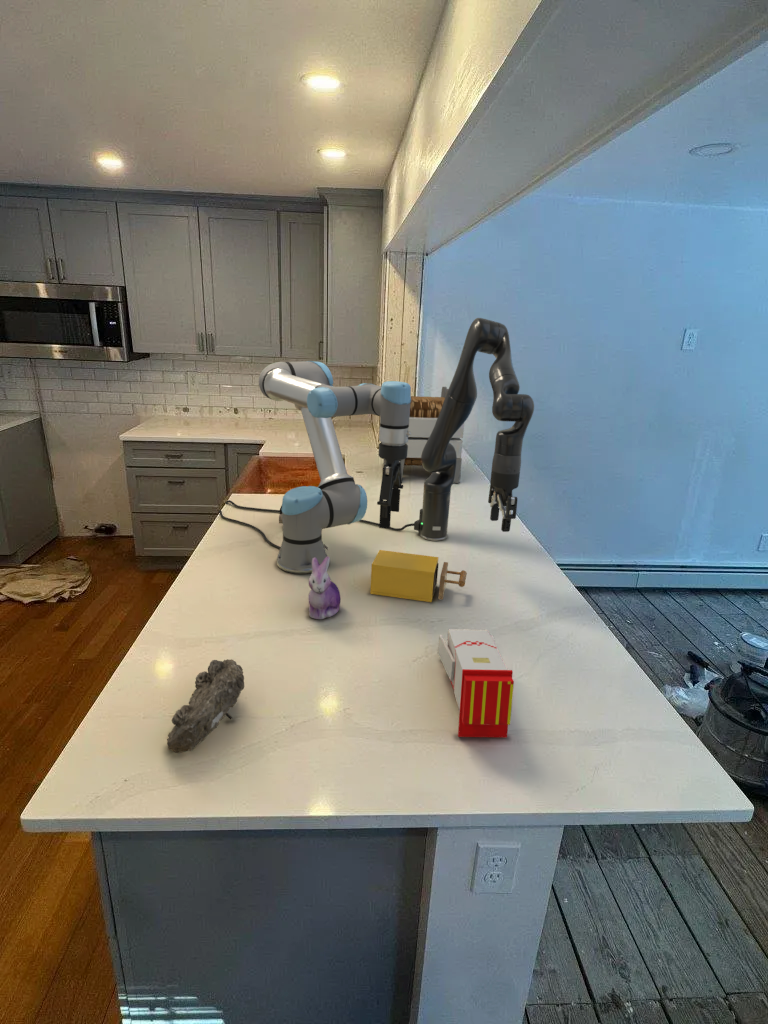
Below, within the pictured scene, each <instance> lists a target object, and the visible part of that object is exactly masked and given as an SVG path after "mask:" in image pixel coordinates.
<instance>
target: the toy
mask: <svg viewBox="0 0 768 1024" xmlns="http://www.w3.org/2000/svg"><path fill="white" fill-rule="evenodd" d="M446 640H447V643H446V641H445V639H444V636H443V635H442V634H439V637H438V646H437V656H438V657H439V659H440V661H441V663H442V666H443V668H444V670H445V672H446V674H447V677H448V679H449V681H450V684H451V687H452V690H453V693H454V697H455V701H456V705H457V708H458V711H459V714H458V715H459V716H458V730H457V731H458V732H457V737H458V738H508V731H509V726H510V725H511V717H512V707H513V697H514V696H513V695H514V684H515V680H514V679H513V673H514V671H513V670H512V669H508V667H507V665H506V662H505V661H504V659H503V658H502V655H501V653H500V651H499V649H498V647H497V643H496V639H495V637H494V635H493V634H491V632H490V631H489V629H467V628H466V629H465V628H463V629H461V628H460V629H459V628H448V630H447V639H446Z"/></svg>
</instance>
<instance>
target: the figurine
mask: <svg viewBox="0 0 768 1024" xmlns="http://www.w3.org/2000/svg"><path fill="white" fill-rule="evenodd" d="M330 561H331V558H330V556H328V555H327V557H326V558H325V559H324V560H323V562H322V563H321V565H320V564H319V562H318V560H317V559H316V558H315V557H314V558H313V559H312V573H310V576H309V579H308V587H309V588H310V591H309V593H308V597H307V598H308V612H309V614H308V615H309V617H310V618H312V619H315V620H324V619H326V618H332V617H333V616H335V615H336V614H337V613H338V612H339V611H340V607H341V599H342V598H341V592H340V589H339V587H338V585H337V584H336V583H335V582H334V581H332V580H331V577H330V575H329V574H328V571H329V566H330Z"/></svg>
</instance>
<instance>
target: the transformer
mask: <svg viewBox="0 0 768 1024" xmlns="http://www.w3.org/2000/svg"><path fill="white" fill-rule="evenodd" d="M448 389H449V388H447V386H442V387H441V392H440V393H441V394H440V396H415V395H414V396H413V395H411V403H410V417H409V429H408V431H410V432H411V434H410V435H408V442H407V443H406V444H407V445H408V451H407V458H406V459H404V460H401V473H402V476H403V475H404V469H405V466H406V467H407V466H411V467H412V466H413V467H415V466H416V467H417V466H418V467H423V466H422V463H421V455H422V451H423V449H424V447H425V445H426V443H427V441H428V439H429V437H430V435H431V433H432V431H433V428H434V426H435V424H436V421H437V418H438V416H439V413H440V411H441V408H442V406H443V402H444V400H445V397H446V394H447V392H448ZM464 429H465V422H464V423H463V425H462V426H461V427H460V428H459V429H458V430H457V431H456V433H455V434H454V435H453V437H452V438H451V440H450V442H449V443H450V444H452V445H453V447H454V448H455V450H456V455H457V462H456V470H455V477H454V482H453V484H455V483H456V484H459V483H461V472H462V461H463V460H462V453H463V442H464V441H463V440H462V439H463V438H464V431H465V430H464ZM384 465H386V460H385V459H383V466H384Z"/></svg>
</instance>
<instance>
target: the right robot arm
mask: <svg viewBox="0 0 768 1024" xmlns="http://www.w3.org/2000/svg"><path fill="white" fill-rule="evenodd" d="M511 348H512V347H511V341H510V334H509V330H508V327H507V326H506V325H505V324H504V323H501V322H498V321H495V320H491V319H487V318H482V317H476V318H475V319H473V321H471V323H470V326H469V328H468V331H467V333H466V336H465V340H464V343H463V347H462V350H461V354H460V356H459V360H458V364H457V366H456V369H455V372H454V375H453V377H452V380H451V382H450V384H449V387H448V388H447V389H448V392H447V394H446V397H445V400H444V402H443V406H442V408H441V411H440V413H439V416H438V418H437V421H436V424H435V426H434V428H433V431H432V433H431V435H430V437H429V439H428V441H427V443H426V445H425V447H424V449H423V451H422V455H421V463H422V466H421V467H423V470H424V471H426V472H428V473H431V474H430V475H429V476H428V477H427V478H426V479H425V480H424V482H423V493H422V496H423V497H422V506H421V508H420V509H419V516H418V519H417V520H416V521H414V523H413V522H412V523H407V524H405V525H403V526H402V527H399V528H395V527H391V526H390V529H389V530H391V531H395V532H400V531H403V530H404V529H406V528H408V527H409V528H410V527H413V530H414V531H417V535H418V536H420V538H421V539H424V540H426V541H432V542H440V541H444V540H446V539H447V538H448V525H449V517H450V516H449V514H450V504H451V494H452V493H451V491H452V486H453V484H454V483H453V482H454V477H455V470H456V462H457V455H456V450H455V448H454V447H453V445H452V444H450V443H449V442H450V440H451V438H452V437H453V435H454V434H455V433H456V431H457V430H458V429H459V428H460V427H461V426H462V425H463V423H464V424H465V423H466V421H467V420H468V418H469V417H470V415H471V413H472V411H473V408H474V406H475V403H476V402H477V399H478V387H477V383H476V377H475V371H474V363H475V358H476V355H477V352H478V353H482V354H486V355H493V356H494V357H495V360H494V361H493V363H492V364H491V366H490V368H489V371H488V380H489V383H490V386H491V389H492V393H493V395H492V397H493V399H492V407H491V414H492V416H493V417H494V419H496V420H497V421H499V422H514V423H513V424H512V426H510V427H508V428H504V429H501V430H498V431H497V433H496V436H495V445H494V453H493V456H492V461H491V473H490V481H489V484H490V485H489V491H488V500H487V502H488V504H489V506H490V517H489V519H490V521H492V522H497V521H499V517H500V512H501V515H502V519H501V527H500V530H501V531H502V532H503V533H509V532H510V531H511V523H512V520H515V519H516V518H517V508H518V496H513V491H514V490H517V488H518V487H519V484H520V477H521V476H520V475H521V467H522V453H523V443H524V438H525V435H526V432H527V429H528V427H529V424H530V422H531V420H532V418H533V415H534V411H535V403H534V399H533V397H532V396H531V395H530V394H527V393H520V389H521V388H520V387H521V386H520V382H519V380H518V377H517V373H516V371H515V368H514V365H513V359H512V350H511ZM229 503H230V504H231V505H232V506H233V507H235V508H238V509H242V510H250V511H259V512H271V513H280V509H269V508H260V507H259V508H257V507H250V506H249V507H248V506H242V505H238V504H237V503H235V502H234V501H233V500H230V499H229V500H226V501H225V502H224V504H225V505H227V504H229ZM359 522H361V523H363V524H364V523H365V524H369V525H372V526H378V527H379V523H380V522H379V523H378V522H375V521H370V520H365V519H361V520H360V521H359Z"/></svg>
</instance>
